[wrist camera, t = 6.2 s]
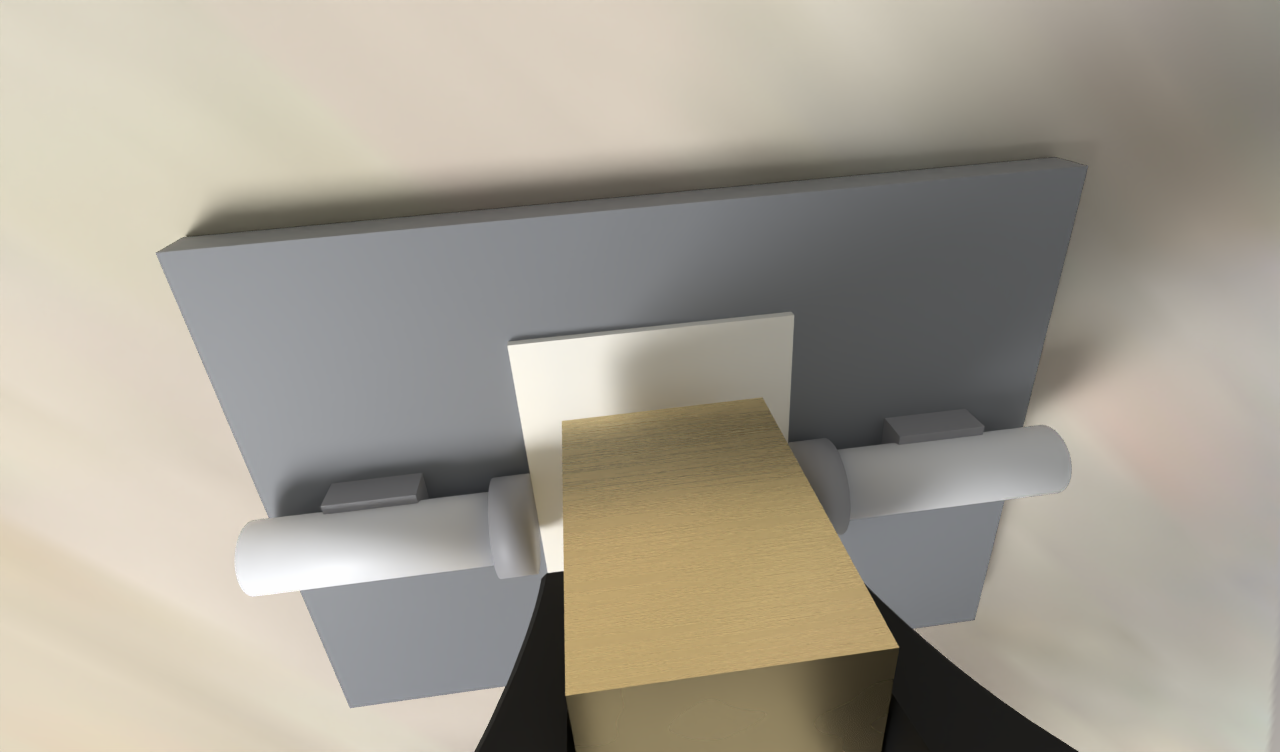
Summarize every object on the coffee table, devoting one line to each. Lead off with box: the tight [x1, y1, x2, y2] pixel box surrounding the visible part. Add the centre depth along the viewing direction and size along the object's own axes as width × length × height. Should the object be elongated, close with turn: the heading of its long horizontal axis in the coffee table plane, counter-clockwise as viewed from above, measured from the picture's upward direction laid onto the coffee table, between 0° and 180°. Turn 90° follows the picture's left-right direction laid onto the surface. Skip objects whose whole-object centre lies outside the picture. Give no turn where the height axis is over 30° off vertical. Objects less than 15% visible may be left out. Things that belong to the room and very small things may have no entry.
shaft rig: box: [156, 157, 1088, 708], centre depth 15 cm, size 18×13×3 cm
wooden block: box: [562, 397, 899, 752], centre depth 12 cm, size 4×6×6 cm, turn 4°
